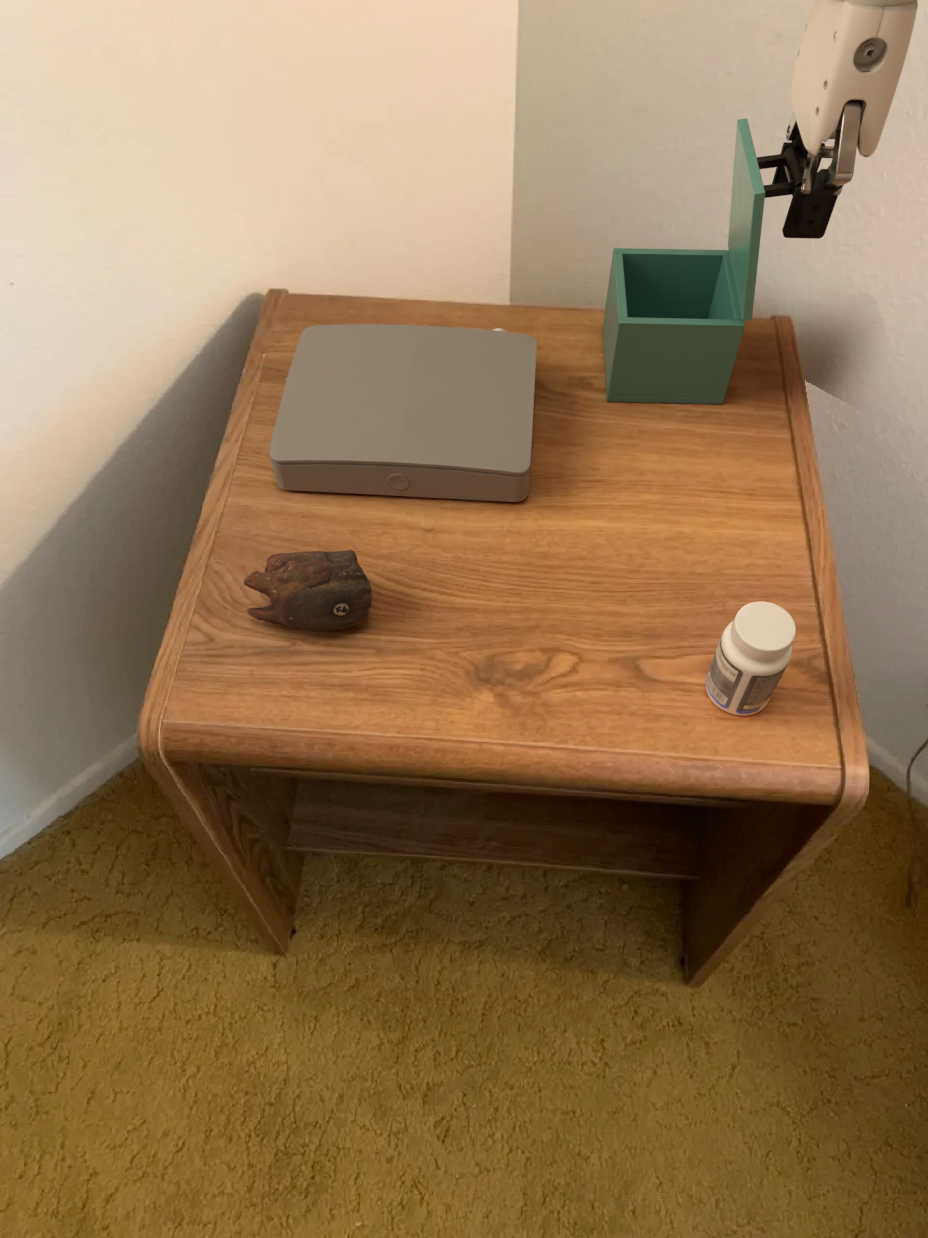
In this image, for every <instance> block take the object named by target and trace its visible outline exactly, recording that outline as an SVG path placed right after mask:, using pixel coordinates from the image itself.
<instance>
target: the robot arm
mask: <svg viewBox="0 0 928 1238" xmlns="http://www.w3.org/2000/svg"><path fill="white" fill-rule="evenodd" d="M918 6H919V3H918V0H813V2H812V6H811V9H810V12H809V15H808V19H807V22H806V25H805V28H804V32H803V34H802V38H801V42H800V45H799V48H798V52H797V55H796V59H795V64H794V68H793V70H792V71H793V72H792V77H791V81H790V87H789V94H790V95H789V96H790V103H791V106H792V110H793V112H792V114H791V117H790V120H789V122H788V125H787V127H786V132H785V140H786V142H783V143H782V146H781V149H780V150H781V151H780V154H784V152H785V151H786V149H788V148H789V147H791V146H799V147H801V148H802V149H803V152H804V155H805V159H806V165H805V170H804V174H803V179H802V184H801V187H800V186H796V187H795V191H794V194H793V196H792V197H791V201H790V204H789V207H788V210H787V213H786V216H785V220H784V223H783V226H782V230H781V231H782V235H783V237H784V238H786V239H816V240H817V239H821V238H823V237H824V236H825V234H826V231H827V228H828V224H829V223H830V220H831V217H832V214H833V212H834V210H835V209H834V208H835V205H836V203H837V199H838V197H839V196H840V195H841V193H842V190H843V187H844V185H847V184H848V183H850V182H851V181H852V180H853V177H854V171H855V165H856V158H857V157H856V156H857V150H858V154H859V156H862V157H863V158H870V157H871V156H872V155H873V154H874V153H875V152H876V150H877V149H878V146H879V143H880V140H881V137H882V134H883V131H884V129H885V125H886V122H887V119H888V116H889V113H890V110H891V106H892V104H893V100H894V97H895V94H896V91H897V88H898V86H899V82H900V79H901V75H902V72H903V68H904V65H905V61H906V57H907V54H908V50H909V48H910V43H911V40H912V35H913V32H914V31H913V30H914V27H915V21H916V17H917V13H918ZM829 140H834V142H833V145H832V146H831V145H826V142H828V141H829ZM822 159H831V163H830V164H829V165H828V167H827V168H821V169H820V170H819V167H820V166H821V162H822ZM786 182H788V178H787V175H786V171H785V167H784V166H781V167H775V172H774V175H773V179H772V182H771V184H779V183H786Z"/></svg>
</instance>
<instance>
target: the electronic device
mask: <svg viewBox="0 0 928 1238" xmlns="http://www.w3.org/2000/svg"><path fill="white" fill-rule="evenodd" d="M537 346H538V341H537V340H536V338H534V337H533V336H532V335H529V334H527V333H518V332H510V331H508V330H505V329H504V328H503V327H497V328H493V329H491V330H490V329H483V328H471V327H470V328H469V327H456V326H455V327H454V326H441V325H422V324H421V325H419V324H417V325H416V324H393V323H392V324H387V323H386V324H385V323H383V324H382V323H359V324H358V323H355V324H354V323H353V324H352V323H348V324H346V323H345V324H344V323H343V324H340V323H339V324H315V325H311V326H308V327H306V328H305V329H303V330H302V331H301V334H300V335H299V339H298V341H297V345H296V348H295V350H294V354H293V356H292V360H291V363H290V366H289V369H288V373H287V376H286V379H285V383H284V387H283V392H282V395H281V398H280V402H279V406H278V410H277V414H276V418H275V423H274V427H273V431H272V436H271V440H270V444H269V447H268V448H269V449H268V456H269V458H270V459H269V460H270V463H271V466H272V470H273V473H274V477H275V481H276V484H277V487H278V488H280V489H282V490H284V491H301V492H318V493H334V494H335V493H337V494H353V495H354V494H355V495H356V494H357V495H358V494H359V495H375V496H377V495H378V496H393V497H394V496H395V497H410V498H411V497H413V498H414V497H415V498H432V499H452V500H470V501H491V502H506V503H508V502H509V503H517V502H522V501H524V500H526V498H527V497H528V496H529V490H530V489H529V488H530V477H531V476H530V474H531V459H532V444H533V443H532V440H533V426H534V425H533V424H534V406H535V405H534V404H535V403H534V402H535V388H536V387H535V386H536V370H537V369H536V368H537V348H538V347H537Z"/></svg>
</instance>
